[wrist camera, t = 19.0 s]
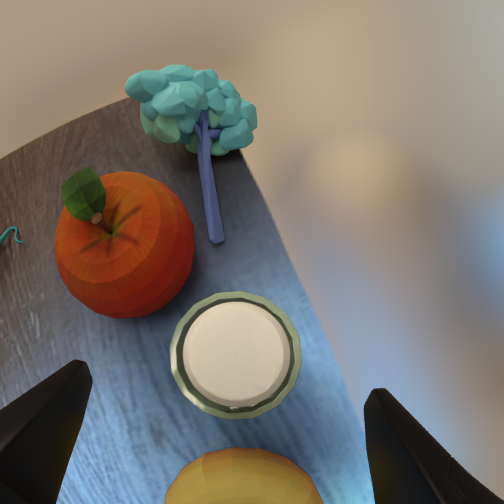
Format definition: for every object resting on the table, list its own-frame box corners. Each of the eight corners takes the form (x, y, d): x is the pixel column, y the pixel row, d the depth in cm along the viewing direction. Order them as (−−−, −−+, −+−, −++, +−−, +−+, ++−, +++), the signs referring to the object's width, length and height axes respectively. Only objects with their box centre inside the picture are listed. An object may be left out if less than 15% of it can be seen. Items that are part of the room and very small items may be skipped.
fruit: (122, 351, 21) (50, 341, 12) (72, 250, 24) (3, 195, 14) (227, 281, 23) (219, 226, 14) (164, 189, 26) (133, 106, 16)
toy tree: (188, 230, 33) (184, 91, 30) (265, 233, 28) (258, 71, 25) (101, 249, 23) (99, 69, 21) (181, 257, 19) (177, 27, 16)
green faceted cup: (305, 376, 21) (323, 380, 17) (214, 422, 20) (207, 439, 15) (258, 288, 23) (262, 270, 19) (168, 332, 22) (149, 325, 17)
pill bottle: (183, 350, 21) (143, 343, 12) (240, 302, 23) (240, 262, 13) (234, 407, 20) (230, 443, 11) (291, 358, 21) (327, 357, 12)
